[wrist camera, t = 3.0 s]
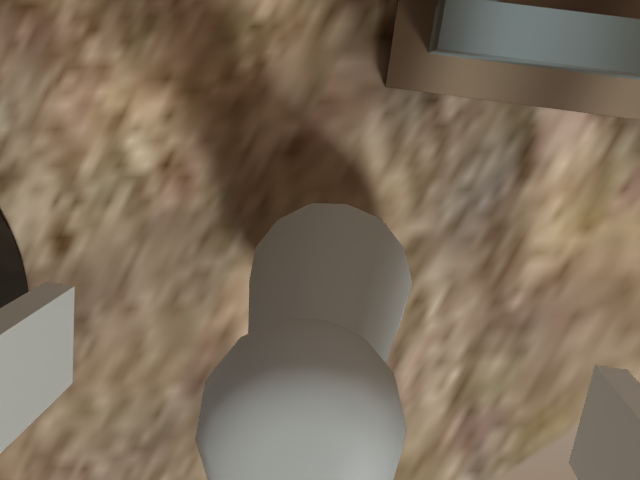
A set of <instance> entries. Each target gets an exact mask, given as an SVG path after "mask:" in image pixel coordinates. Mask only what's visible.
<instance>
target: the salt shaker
mask: <svg viewBox="0 0 640 480" xmlns="http://www.w3.org/2000/svg"><path fill="white" fill-rule="evenodd" d="M411 285H412V280H411V276H410V271H409V267H408V263H407V259H406V254H405V250H404V248H403V246H402V245H401V244H400V243H399V241H398V240H397V239H396V237H395V236H394V235H393V234H392V232H391V231H390V230H389V228H388V227H387V226H386V224H385V223H384V222H383V221H382V219H380V218H378V217H376V216H374V215H371V214H369V213H367V212H365V211H362V210H360V209H358V208H356V207H353V206H351V205H349V204H332V203H310V204H308V205H306V206H304V207H302V208H300V209H298V210H296V211H294V212H292V213H290V214H288V215H286V216H284V217H282V218H280V219H278V220H277V221H276V222H275V224H274V225H273V226H272V227H271V229H270V230H269V231H268V232H267V234H266V235H265V236H264V237H263V238H262V240H261V241H260V242H259V243H258V245H257V246H256V248H255V253H254V259H253V264H252V270H251V276H250V281H249V326H248V334H247V335H245V336H243V337H241V338H240V339H239V340H238V341H237V343H236V344H235V345H234V346H233V347H232V349H231V350H230V351H229V352H228V353H227V355H226V356H225V357H224V358H223V359H222V361H221V362H220V363H219V364H218V365H217V367H216V368H215V369H214V370H213V372H212V373H211V375H210V376H209V378H208V379H207V380H206V383H205V388H204V393H203V398H202V404H201V410H200V416H199V422H198V428H197V434H196V443H197V446H198V449H199V453H200V456H201V459H202V462H203V466H204V469H205V472H206V475H207V479H208V480H393V479H394V476H395V472H396V469H397V466H398V462H399V459H400V456H401V452H402V449H403V445H404V440H405V436H406V431H407V427H406V422H405V418H404V414H403V409H402V405H401V401H400V397H399V393H398V389H397V385H396V381H395V377H394V373H393V371H392V370H391V369H390V368H389V367H388V365H387V364H386V362H387V359H388V356H389V353H390V350H391V346H392V343H393V340H394V337H395V335H396V332H397V330H398V327H399V324H400V322H401V319H402V317H403V313H404V310H405V306H406V303H407V299H408V296H409V292H410V289H411Z"/></svg>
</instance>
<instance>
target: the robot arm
mask: <svg viewBox="0 0 640 480" xmlns="http://www.w3.org/2000/svg"><path fill="white" fill-rule="evenodd" d="M74 289H75V286H70V285H63V284H56V283H50V282H45V283H43V284H41V285H39V286H38V287H36V288H34V289H33V290H31V291H29V292H28V287H27V282H26V277H25V272H24V268H23V265H22V261H21V258H20V255H19V252H18V249H17V247H16V244H15V242H14V240H13V237H12V235H11V233H10V231H9V229H8V227H7V225H6V223H5V221H4V220H3V218H2V216H1V214H0V453H1V452H2V451H4V450H5V449H6V448H7V447H8V446H9V445H10V444H11V443H12V442H13V441H14V440H15V439H16V438H17V437H18V436H19V435H20V434H21V433H22V432H23V431H24V430H25V429H26V428H27V427H28V426H29V425H30V424H31V423H32V422H33V421H34V420H35V419H36V418H37V417H38V416H39V415H40V414H41V413H42V412H44V411H45V410H46V409H47V408H48V407H49V406H50V405H51V404H52V403H53V402H54V401H55V400H56V399H57V398H58V397H59V396H60V395H61V394H62V393H63V392H64V391H65V390H66V389H67V388H68V387H69V386H70V385H71V384H72V380H73V334H74ZM569 463H570V465H571V467H572V469H573V471H574V473H575V475H576V477H577V478H578V480H640V383H639V382H638V381H637V380H636V379H635V378H634V377H633V376H632V375H631V373H630V372H629V371H628V370H627V369H620V368H613V367H607V366H600V365H595V367H594V371H593V374H592V378H591V382H590V386H589V389H588V393H587V397H586V401H585V404H584V408H583V412H582V416H581V419H580V423H579V427H578V431H577V435H576V438H575V442H574V446H573V449H572V453H571V457H570V461H569Z"/></svg>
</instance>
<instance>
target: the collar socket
mask: <svg viewBox="0 0 640 480" xmlns="http://www.w3.org/2000/svg"><path fill="white" fill-rule="evenodd" d="M385 87H391V88H399V89H407V90H414V91H422V92H430V93H438V94H445V95H453V96H461V97H468V98H476V99H484V100H492V101H499V102H507V103H515V104H522V105H530V106H538V107H546V108H553V109H561V110H569V111H576V112H584V113H592V114H600V115H607V116H615V117H623V118H630V119H638V120H640V0H398V3H397V10H396V16H395V23H394V30H393V37H392V43H391V50H390V57H389V63H388V70H387V77H386V84H385Z"/></svg>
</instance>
